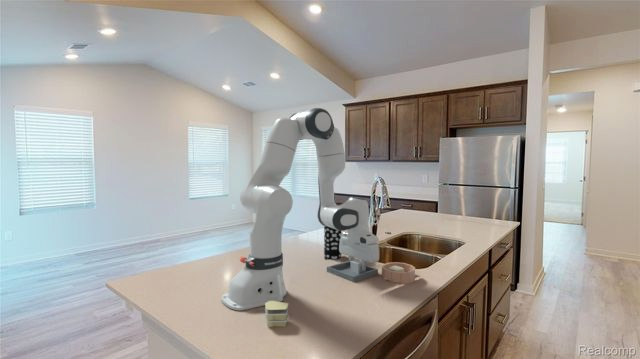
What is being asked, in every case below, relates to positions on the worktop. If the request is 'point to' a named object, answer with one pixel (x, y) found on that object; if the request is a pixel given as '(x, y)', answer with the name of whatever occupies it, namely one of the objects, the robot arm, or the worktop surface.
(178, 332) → the worktop surface
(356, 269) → the pale blue cube
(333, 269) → the parts tray
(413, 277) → the terracotta bowl
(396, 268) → the cream small cube
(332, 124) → the robot arm
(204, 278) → the worktop surface
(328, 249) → the spotted tube
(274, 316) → the pale green layered block
